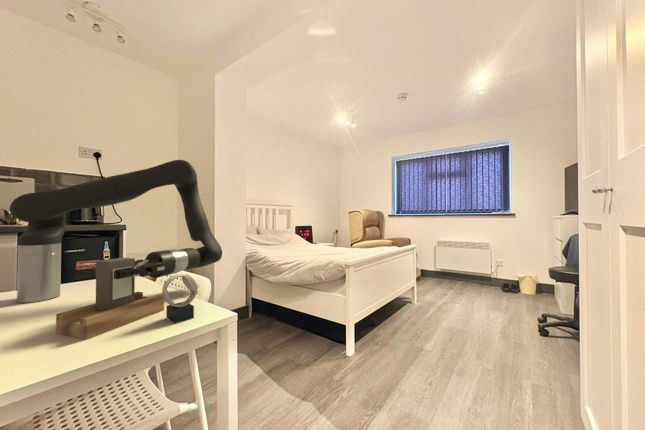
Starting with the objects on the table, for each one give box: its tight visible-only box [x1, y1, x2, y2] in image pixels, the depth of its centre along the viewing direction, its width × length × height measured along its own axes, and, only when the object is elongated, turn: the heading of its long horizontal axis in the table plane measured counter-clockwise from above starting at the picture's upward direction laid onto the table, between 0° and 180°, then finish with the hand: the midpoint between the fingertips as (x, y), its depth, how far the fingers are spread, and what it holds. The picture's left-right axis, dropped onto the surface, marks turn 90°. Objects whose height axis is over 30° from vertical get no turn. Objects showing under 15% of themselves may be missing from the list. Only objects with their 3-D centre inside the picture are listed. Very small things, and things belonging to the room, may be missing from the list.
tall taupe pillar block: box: [95, 257, 136, 312], centre depth 63 cm, size 5×6×12 cm
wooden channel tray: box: [55, 291, 165, 340], centre depth 63 cm, size 10×18×4 cm, turn 163°
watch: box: [161, 273, 199, 325], centre depth 64 cm, size 6×8×11 cm
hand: (105, 273), depth 61 cm, fingers open, 6 cm apart
